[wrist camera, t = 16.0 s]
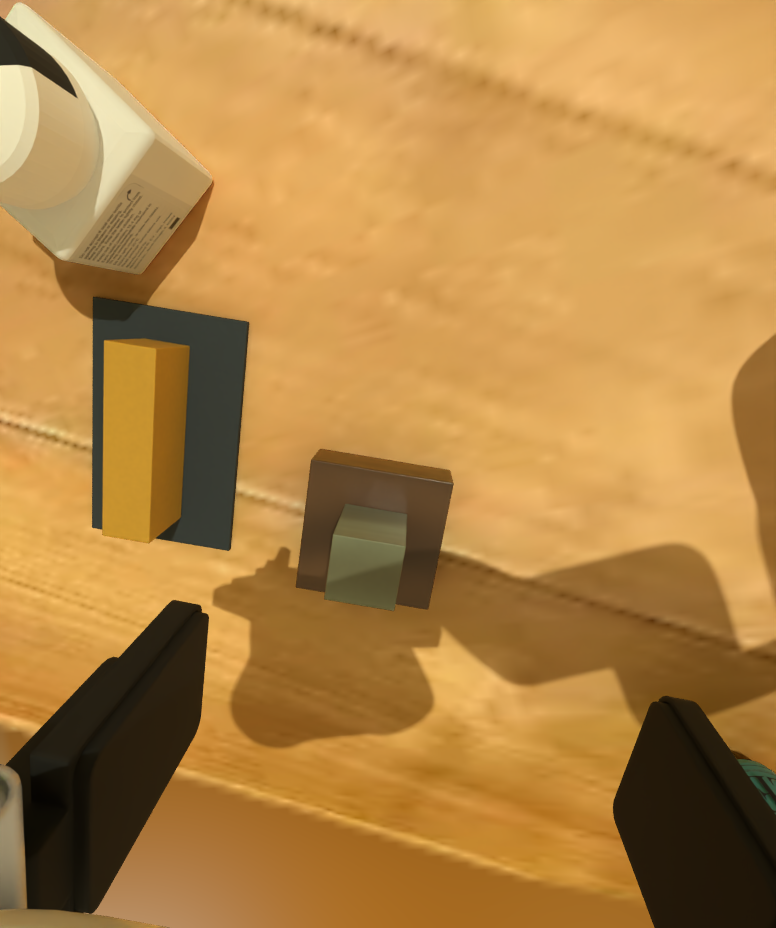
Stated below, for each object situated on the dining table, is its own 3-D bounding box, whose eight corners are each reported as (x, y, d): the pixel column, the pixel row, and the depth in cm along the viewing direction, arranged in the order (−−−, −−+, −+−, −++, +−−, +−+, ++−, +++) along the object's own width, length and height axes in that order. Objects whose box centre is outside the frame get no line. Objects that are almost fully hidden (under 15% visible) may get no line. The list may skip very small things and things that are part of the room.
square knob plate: (319, 448, 35) (292, 483, 27) (450, 470, 35) (460, 510, 27) (304, 567, 37) (275, 630, 29) (427, 588, 37) (430, 657, 29)
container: (42, 185, 31) (-209, 89, 19) (115, 77, 29) (-106, -108, 17) (141, 277, 32) (-32, 246, 20) (217, 179, 31) (80, 77, 18)
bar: (144, 338, 33) (103, 339, 29) (190, 345, 33) (156, 348, 29) (139, 510, 36) (101, 535, 32) (181, 517, 36) (149, 543, 32)
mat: (96, 297, 33) (92, 296, 32) (249, 322, 33) (247, 322, 32) (95, 525, 37) (91, 528, 37) (230, 548, 37) (228, 550, 36)
